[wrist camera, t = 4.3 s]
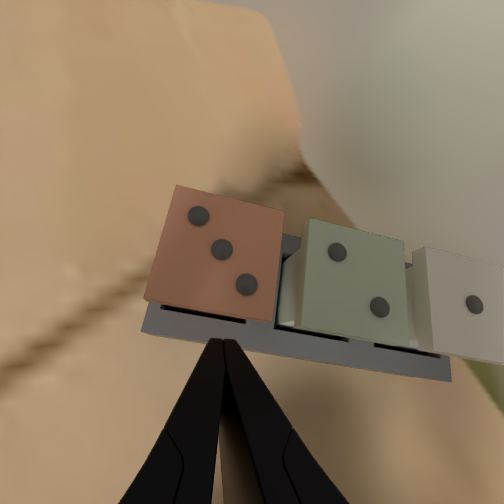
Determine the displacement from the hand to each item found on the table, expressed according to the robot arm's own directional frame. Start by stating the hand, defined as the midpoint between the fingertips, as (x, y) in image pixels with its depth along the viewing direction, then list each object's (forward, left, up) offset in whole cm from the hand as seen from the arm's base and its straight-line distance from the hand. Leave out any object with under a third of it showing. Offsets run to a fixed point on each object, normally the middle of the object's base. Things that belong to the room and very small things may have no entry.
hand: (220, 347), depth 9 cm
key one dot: (+13, -5, -10) cm, 17 cm away
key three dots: (+2, +4, -10) cm, 11 cm away
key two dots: (+8, -1, -10) cm, 12 cm away
